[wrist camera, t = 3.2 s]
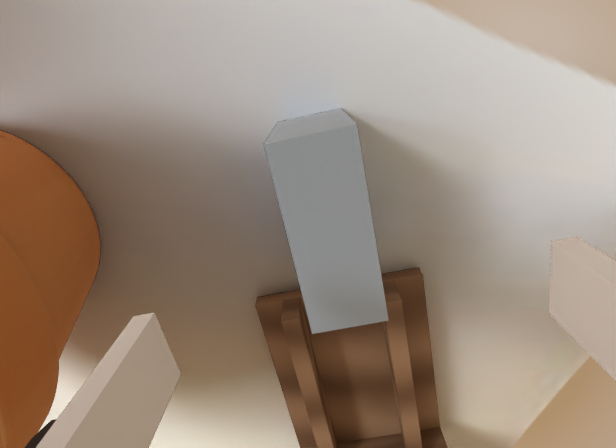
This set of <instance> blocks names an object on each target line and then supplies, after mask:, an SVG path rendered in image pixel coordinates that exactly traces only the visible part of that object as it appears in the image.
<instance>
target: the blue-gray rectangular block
mask: <svg viewBox="0 0 616 448" xmlns="http://www.w3.org/2000/svg"><path fill="white" fill-rule="evenodd" d="M264 149H265V152H266V156H267V160H268V164H269V168H270V172H271V176H272V180H273V184H274V187H275V191H276V195H277V199H278V203H279V207H280V211H281V215H282V219H283V223H284V226H285V230H286V234H287V238H288V242H289V246H290V250H291V254H292V258H293V261H294V265H295V269H296V273H297V277H298V281H299V285H300V289H301V293H302V296H303V300H304V304H305V308H306V312H307V316H308V320H309V324H310V328H311V332H312V334H315V333H321V332H326V331H332V330H338V329H343V328H349V327H355V326H361V325H366V324H372V323H378V322H383V321H389V320H388V313H387V307H386V301H385V295H384V289H383V282H382V276H381V270H380V264H379V258H378V251H377V245H376V239H375V233H374V226H373V220H372V214H371V208H370V202H369V195H368V189H367V183H366V177H365V171H364V164H363V158H362V152H361V146H360V140H359V133H358V127H357V124H356V123H355V122H354V121H353V120H352V119H351V117H350V116H349V115H348V114H347V113H346V112H345V111H344V110H343V109H342V108H338V109H334V110H329V111H325V112H320V113H316V114H311V115H307V116H302V117H298V118H293V119H289V120H284V121H280V122H277V124H276V125H275V127H274V128H273V130H272V132H271V133H270V135H269V137H268V138H267V140H266V141H265V143H264Z"/></svg>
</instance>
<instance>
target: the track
mask: <svg viewBox="0 0 616 448" xmlns="http://www.w3.org/2000/svg"><path fill="white" fill-rule="evenodd" d="M381 276H382V282H383V289H384V295H385V301H386V307H387V313H388V320H389V321H383V322H378V323H372V324H366V325H361V326H355V327H349V328H343V329H338V330H332V331H326V332H321V333H315V334H312V332H311V328H310V324H309V320H308V316H307V312H306V308H305V304H304V300H303V296H302V293H301V289H300V290H294V291H289V292H284V293H278V294H273V295H267V296H262V297H257V301H256V308H257V311H258V314H259V318H260V321H261V324H262V327H263V330H264V334H265V337H266V340H267V343H268V346H269V349H270V353H271V356H272V359H273V362H274V365H275V368H276V372H277V375H278V378H279V381H280V384H281V388H282V391H283V394H284V397H285V400H286V403H287V407H288V410H289V413H290V416H291V419H292V423H293V426H294V429H295V432H296V435H297V438H298V442H299V445H300V448H447V445H446V442H445V440H444V437H443V434H442V432H441V429H440V424H439V415H438V406H437V397H436V388H435V380H434V371H433V362H432V353H431V344H430V335H429V327H428V318H427V309H426V300H425V291H424V282H423V274H422V273H421V271H420V269H419V268H413V269H408V270H402V271H397V272H392V273H386V274H381Z"/></svg>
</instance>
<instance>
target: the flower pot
mask: <svg viewBox="0 0 616 448" xmlns="http://www.w3.org/2000/svg"><path fill="white" fill-rule="evenodd" d="M99 261H100V237H99V232H98V227H97V224H96V220H95V218H94V215H93V212H92V210H91V208H90V206H89V204H88V202H87V200H86V199H85V197H84V195H83V193H82V192H81V190H80V189H79V188H78V186H77V185H76V184H75V182H74V181H73V180H72V179H71V178H70V176H69V175H68V174H67V173H66V172H65V171H64V170H63V169H62V168H61V167H60V166H59V165H58V164H56V163H55V162H54V161H53V160H52V159H51V158H50V157H48V156H47V155H46V154H44V153H43V152H41V151H40V150H39V149H37V148H36V147H34V146H33V145H31V144H29V143H27V142H25V141H24V140H22V139H20V138H18V137H16V136H13V135H11V134H9V133H6V132H3V131H1V130H0V448H25V446H26V445H27V444H28V442H29V441H30V440H31V439H32V438H33V437H34V436H35V435H36V434H37V433H38V431H39V430H40V428H41V426H42V424H43V423H44V421H45V419H46V417H47V415H48V414H49V411H50V409H51V406H52V403H53V400H54V397H55V393H56V388H57V382H58V373H59V358H60V356H61V354H62V351H63V349H64V347H65V345H66V342H67V340H68V338H69V336H70V333H71V331H72V329H73V327H74V324H75V322H76V320H77V318H78V315H79V313H80V311H81V309H82V307H83V304H84V302H85V300H86V298H87V296H88V294H89V291H90V289H91V286H92V284H93V281H94V279H95V276H96V273H97V270H98V266H99Z"/></svg>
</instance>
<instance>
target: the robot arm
mask: <svg viewBox="0 0 616 448" xmlns="http://www.w3.org/2000/svg"><path fill="white" fill-rule="evenodd" d="M549 314H550V315H551V316H552V317H553V318H554V319H555V320H556V322H557V323H558V324H559V325H560V326H561V327H562V328H563V329H564V330H565V331H566V332H567V333H568V334H569V335H570V336H571V337H572V338H573V339H574V340H575V341H576V342H577V343H578V344H579V345H580V346H581V347H582V348H583V349H584V350H585V351H586V352H587V353H588V354H589V355H590V356H591V357H592V358H593V359H594V360H595V361H597V363H598V364H599V365H600V366H601V367H602V368H603V369H604V370H605V371H606V372H607V373H608V374H609V375H610V376H611V377H612V378H613V379H614V380H615V381H616V260H614V259H612V258H611V257H609V256H607V255H606V254H604V253H603V252H601V251H599V250H598V249H596V248H594V247H593V246H591V245H590V244H588V243H586V242H585V241H583V240H581V239H580V238H578V237H572V238H566V239H561V240H555V241H551V262H550V300H549ZM180 376H181V373H180V370H179V368H178V366H177V363H176V361H175V359H174V356H173V354H172V352H171V349H170V347H169V345H168V342H167V340H166V338H165V336H164V333H163V331H162V329H161V326H160V324H159V322H158V319H157V317H156V315H155V312H154V313H149V314H143V315H137V316H133V318H132V319H131V320H130V322H129V323H128V324H127V326H126V327H125V328H124V330H123V331H122V332H121V334H120V335H119V336H118V338H117V339H116V341H115V342H114V343H113V345H112V346H111V347H110V349H109V350H108V351H107V353H106V354H105V355H104V357H103V358H102V359H101V361H100V362H99V363H98V365H97V366H96V367H95V369H94V370H93V371H92V373H91V374H90V375H89V377H88V378H87V379H86V381H85V382H84V384H83V385H82V386H81V388H80V389H79V390H78V392H77V393H76V394H75V396H74V397H73V398H72V400H71V401H70V402H69V404H68V405H67V406H66V408H65V409H64V410H63V412H62V413H61V414H60V416H59V417H58V418H57V419H56V420H51V421H50V422H49V423H48V424H47V425H46V426H45V427H44V428H43V429H41V430H40V431H39V432H38V433H37V434H36V435H35V436H34V437H33V438H32V439H31V440H30V441H29V442H28V444H27V445H26V446H25V448H149V446H150V444H151V441H152V439H153V437H154V434H155V432H156V430H157V428H158V425H159V423H160V421H161V419H162V416H163V414H164V412H165V410H166V407H167V405H168V403H169V400H170V398H171V396H172V394H173V391H174V389H175V387H176V385H177V382H178V380H179V378H180Z"/></svg>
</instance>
